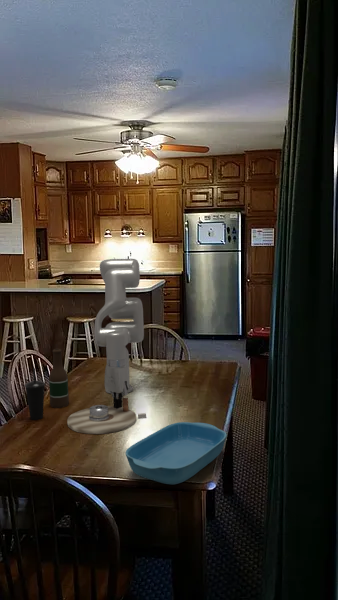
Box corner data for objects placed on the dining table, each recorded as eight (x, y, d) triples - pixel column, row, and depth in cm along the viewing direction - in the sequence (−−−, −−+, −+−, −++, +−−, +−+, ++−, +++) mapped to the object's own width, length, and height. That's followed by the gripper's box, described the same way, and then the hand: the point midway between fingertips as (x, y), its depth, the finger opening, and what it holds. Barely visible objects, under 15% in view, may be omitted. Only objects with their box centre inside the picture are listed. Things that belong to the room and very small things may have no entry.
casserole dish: (176, 498, 140) (175, 473, 140) (112, 478, 153) (111, 455, 152) (237, 450, 171) (237, 429, 170) (180, 436, 183) (179, 417, 182)
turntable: (55, 420, 201) (54, 404, 201) (112, 405, 218) (111, 390, 217) (89, 439, 181) (88, 421, 181) (149, 421, 197) (149, 405, 197)
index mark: (138, 418, 202) (138, 414, 201) (138, 417, 203) (137, 413, 203) (146, 417, 202) (146, 414, 202) (145, 416, 204) (145, 412, 203)
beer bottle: (72, 403, 222) (70, 348, 219) (61, 409, 215) (58, 352, 212) (57, 401, 225) (55, 346, 222) (46, 406, 218) (43, 350, 215)
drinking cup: (29, 422, 200) (26, 371, 197) (24, 416, 207) (21, 367, 204) (48, 419, 203) (46, 368, 201) (44, 413, 210) (41, 364, 208)
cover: (86, 417, 200) (85, 406, 199) (104, 413, 204) (103, 402, 203) (93, 423, 193) (93, 411, 193) (112, 418, 197) (112, 408, 197)
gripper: (97, 361, 208) (98, 405, 211) (121, 367, 198) (123, 414, 200) (111, 358, 214) (113, 401, 216) (136, 363, 203) (137, 409, 206)
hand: (118, 407), depth 208 cm, fingers closed
